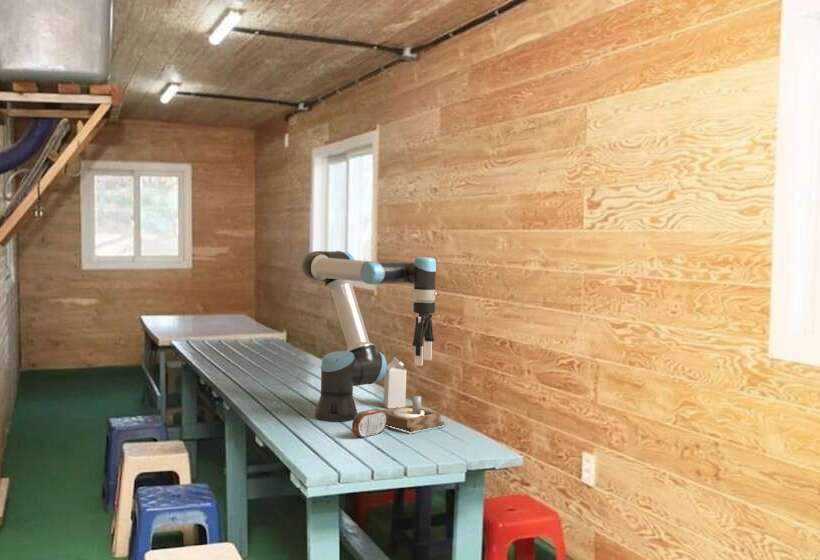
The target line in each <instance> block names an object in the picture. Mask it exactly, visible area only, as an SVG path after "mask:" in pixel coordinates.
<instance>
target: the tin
mask: <svg viewBox="0 0 820 560" xmlns="http://www.w3.org/2000/svg"><path fill="white" fill-rule="evenodd" d="M382 410H383V409H379V408H372V409H368V410H362V411H360V412H357V415H356V416H355V418H354V419H353V420H352V424H351V430H352V433H353V434H354V436H356V437H359V438H365V437H364V436H368V435H372V434H376V433H379V432H381V433H382V432H383V431H384V430H385V429H386V428H387V427H386V423H387V415H386V413H385V412H384V411H382ZM376 435H377V434H376ZM372 436H373V435H372ZM368 437H369V436H368Z"/></svg>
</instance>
